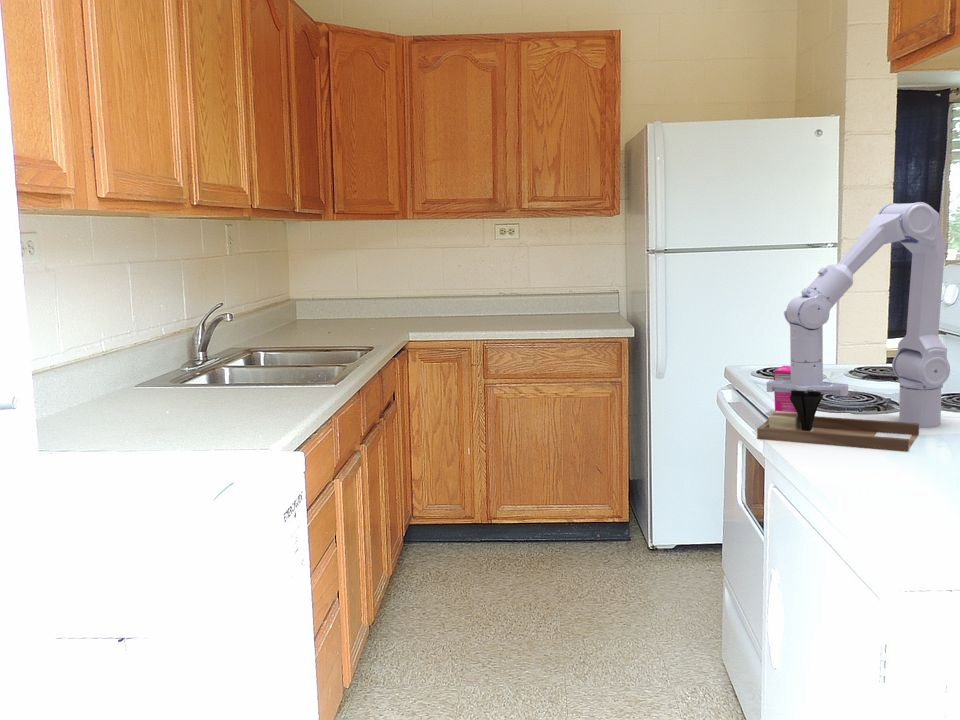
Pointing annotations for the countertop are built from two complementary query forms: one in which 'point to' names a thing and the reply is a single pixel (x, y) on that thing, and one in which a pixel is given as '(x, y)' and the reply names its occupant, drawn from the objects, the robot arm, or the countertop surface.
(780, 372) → the supplement box
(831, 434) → the compartment tray
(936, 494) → the countertop surface
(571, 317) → the countertop surface
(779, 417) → the birch block
